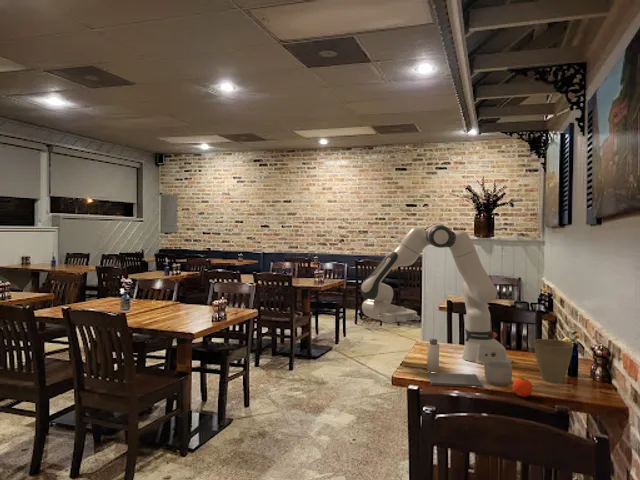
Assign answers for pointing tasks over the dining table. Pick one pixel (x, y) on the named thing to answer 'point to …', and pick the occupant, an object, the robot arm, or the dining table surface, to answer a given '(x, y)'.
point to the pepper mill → (433, 356)
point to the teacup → (498, 372)
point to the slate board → (454, 379)
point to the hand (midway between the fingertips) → (412, 319)
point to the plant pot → (553, 358)
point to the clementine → (522, 387)
